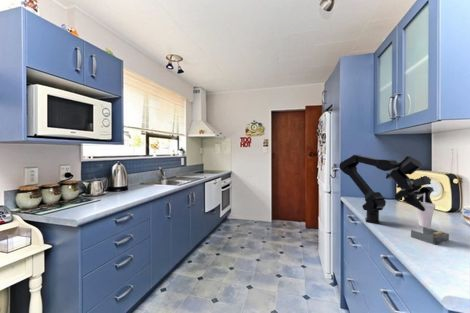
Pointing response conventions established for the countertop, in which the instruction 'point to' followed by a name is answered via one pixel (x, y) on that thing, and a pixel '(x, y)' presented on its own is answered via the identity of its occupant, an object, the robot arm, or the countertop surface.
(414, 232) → the bracket
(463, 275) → the countertop surface
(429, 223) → the smoothie
